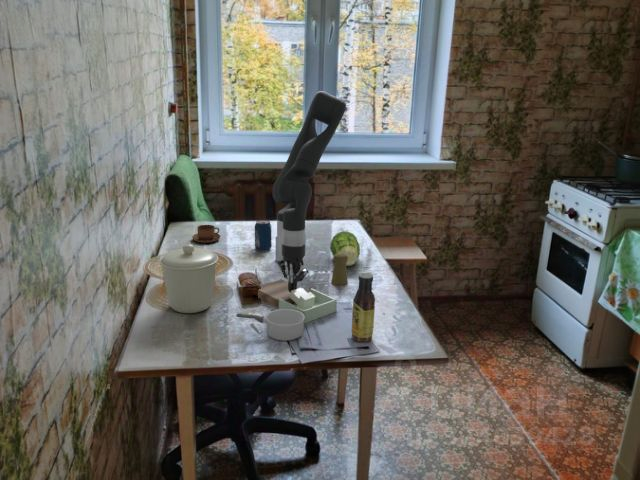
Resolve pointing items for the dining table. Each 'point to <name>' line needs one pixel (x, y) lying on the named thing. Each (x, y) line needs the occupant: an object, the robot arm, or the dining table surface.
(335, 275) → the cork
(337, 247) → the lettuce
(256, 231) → the soda can
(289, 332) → the saucepan
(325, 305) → the tray
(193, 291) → the canister
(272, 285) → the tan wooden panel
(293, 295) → the tile
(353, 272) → the dining table surface
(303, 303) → the tile
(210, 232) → the cup and saucer
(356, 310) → the sauce bottle
